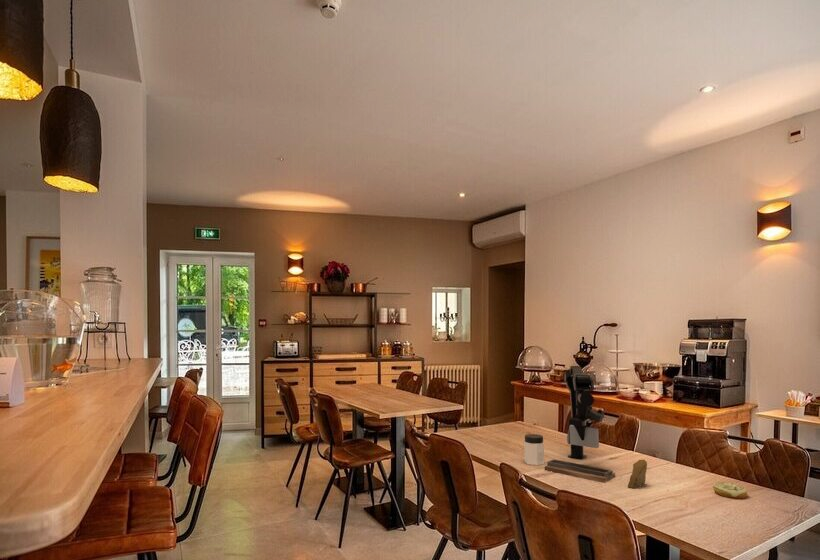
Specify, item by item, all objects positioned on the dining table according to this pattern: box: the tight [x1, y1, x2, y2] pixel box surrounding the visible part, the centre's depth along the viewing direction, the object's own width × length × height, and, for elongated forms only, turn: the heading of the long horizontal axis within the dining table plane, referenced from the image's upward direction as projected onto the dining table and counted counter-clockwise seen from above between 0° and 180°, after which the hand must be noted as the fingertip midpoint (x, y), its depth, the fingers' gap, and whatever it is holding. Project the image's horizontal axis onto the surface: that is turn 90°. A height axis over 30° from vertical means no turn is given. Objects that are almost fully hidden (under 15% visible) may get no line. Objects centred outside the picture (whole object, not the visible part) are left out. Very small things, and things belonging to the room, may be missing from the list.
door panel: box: [569, 425, 600, 449], centre depth 227 cm, size 2×12×8 cm, turn 49°
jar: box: [523, 433, 545, 466], centre depth 236 cm, size 9×8×12 cm
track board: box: [544, 458, 616, 483], centre depth 219 cm, size 11×26×3 cm, turn 48°
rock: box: [627, 459, 648, 489], centre depth 204 cm, size 11×9×10 cm
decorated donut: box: [712, 481, 748, 500], centre depth 193 cm, size 10×11×4 cm
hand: (583, 439), depth 227 cm, fingers closed on door panel, 2 cm apart
